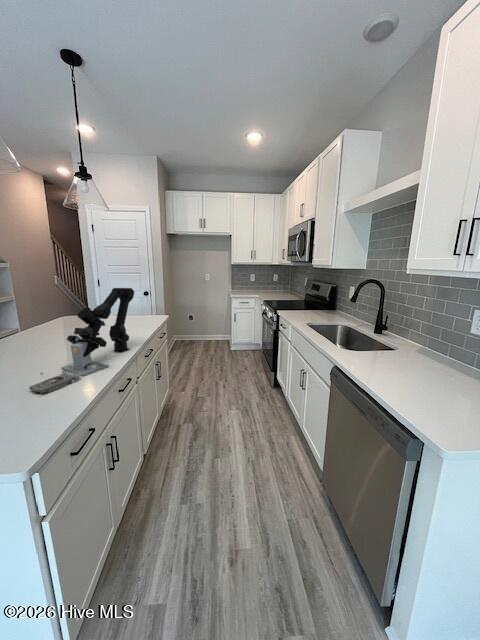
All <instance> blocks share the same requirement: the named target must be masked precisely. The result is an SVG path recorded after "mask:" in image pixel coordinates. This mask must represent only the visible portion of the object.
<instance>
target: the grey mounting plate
mask: <svg viewBox="0 0 480 640" xmlns="http://www.w3.org/2000/svg"><path fill="white" fill-rule="evenodd" d="M91 363H92V365H85V366H84V371H82V370H75V369H74V363H73V362H72V363H70V364H69V365H65V366H61V367H60V369H61V370H62V371H63V370H64V371H69V372H73V373H77V374H80V373H81V375H80V376H81V378H82V377H86V376H88V375H91V374H95V373H97V372H99V370H100V371H102V370H106V369H108V368H109V364H105V363H102V362H98V361H94V360H92V359H91ZM69 372H68V373H69Z"/></svg>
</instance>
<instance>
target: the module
mask: <svg viewBox="0 0 480 640" xmlns="http://www.w3.org/2000/svg"><path fill="white" fill-rule="evenodd" d="M87 346H88V343H87V342H78V343H76V344H71V345H70V350H71V356H72V363H74V369H75V370H82V371H84V366H85V365H92V363H91V360H92V356H91V353H90V354H89V355H87V356H86V357H83V355H84V352H85V350H86V348H87Z"/></svg>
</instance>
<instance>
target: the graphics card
mask: <svg viewBox="0 0 480 640" xmlns="http://www.w3.org/2000/svg"><path fill="white" fill-rule="evenodd" d="M61 372H62V373H61V374H59V375H56V376H53V377H51V378H48V379H45V380H43V381H40V382H38V383H36V384H33V385H31V386H29V391H33V392H34V393H37V392H38V393H39V394H43V393H45V392H47V393H50V392H53V391H55V390H57V389H60V388H62V387H63V388H66V387H68V386H70V385H73V384H76V383H78V382H80V381H81V380H82V376H80V375H81V373H80V374H77V373H73V372H69V371H65V370H62V371H61Z"/></svg>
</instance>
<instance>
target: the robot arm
mask: <svg viewBox="0 0 480 640" xmlns="http://www.w3.org/2000/svg"><path fill="white" fill-rule="evenodd" d="M134 296H135V291H134V289H133V288H132V287H113V288H112V289H111V291H110V293H109V294H108V295H107V297H105V300H104V301H103V302H102V303H100V304H98V305H97V306H96V307H94V309H93V310H92V309H91V308H90V307H84V309H83V308H82V309H81V310H80V311H79V312H78V313H77V318H79V320H81V321H82V322H83V323H85V325H87V326H85V327H75V328H74V331H73V335H72V334H70V335H68V336H67V338H66V341H68V342H69V343H71V345H73V344H76V343H78V342H87V343H88V346H87V348H86V350H85V352H84V355H83V357H86V356H87V355H89V354H90V355H91V354H92V353H93V352H94V351H95V350H97V349H99V348H106V345H107V343H108V342H107V341H106V340H105V339H104V338H103V337H102V336H100V330H101V328H102V327H105V326H106V323H105V320H108V318H109V317H110V315H111V313H112V310H111V309H112V307H113V306H114V305H115V304H116V302H117V301H118V299H119V304H118V305H119V306H118V310H117V315H116V318H115V323H114V325H111V326H110V330H109V338H110V340H111V342H113V343H114V344H113V348H114V349H113V351H114V352H118V353H124V352H126V351H128V350H130V348H129V347H128V342H129V340H130V335H128V334H127V329H126V326H125V325H126V324H125V322H126V318H127V314H128V308H129V304H130V302H131V301H132V300H133V298H134ZM102 319H103V320H102ZM77 335H78V336H77Z"/></svg>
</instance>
